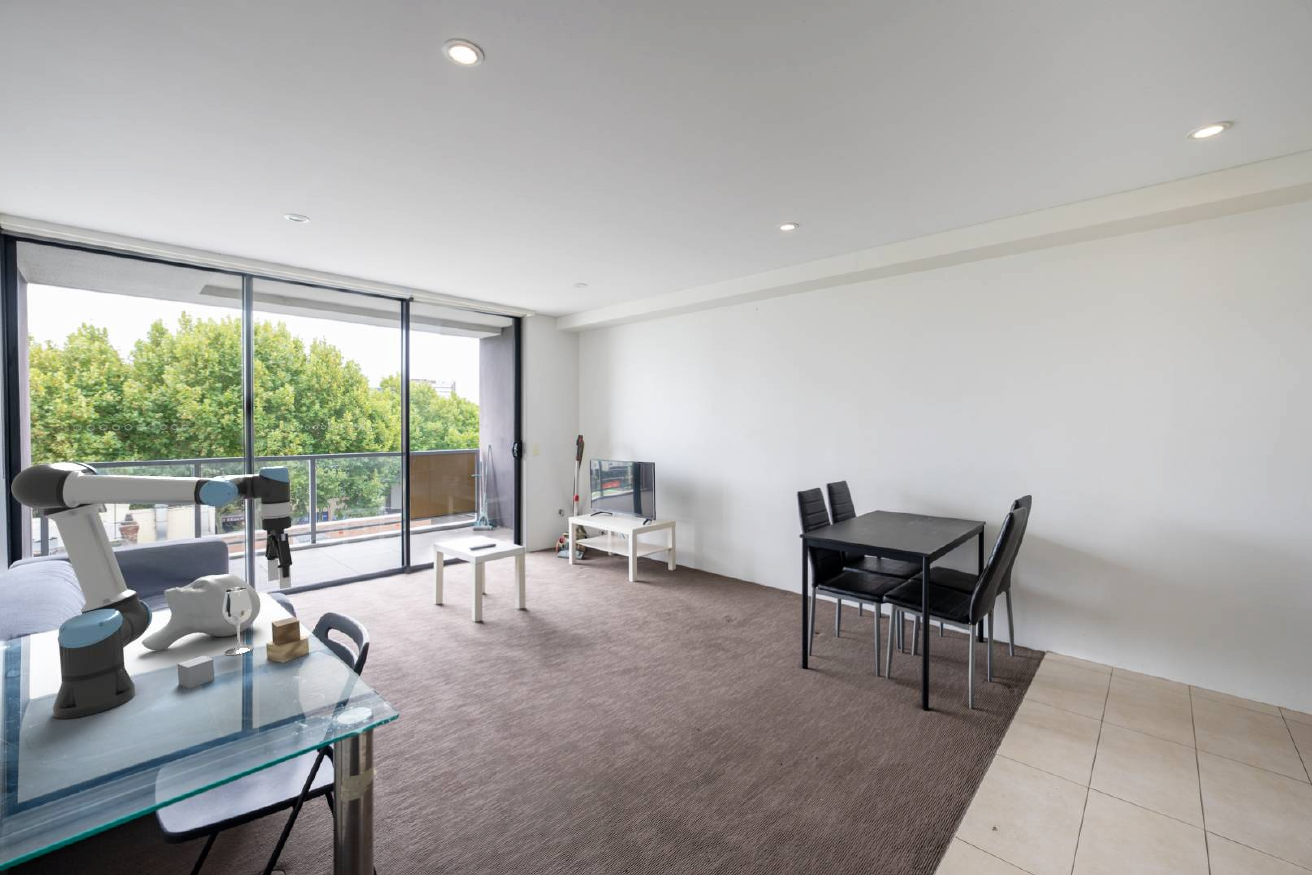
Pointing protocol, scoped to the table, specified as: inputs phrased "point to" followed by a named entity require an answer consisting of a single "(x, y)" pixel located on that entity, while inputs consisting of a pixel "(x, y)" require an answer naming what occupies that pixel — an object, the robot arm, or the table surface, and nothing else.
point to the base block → (287, 650)
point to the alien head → (201, 610)
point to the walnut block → (285, 631)
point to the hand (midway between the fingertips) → (279, 584)
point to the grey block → (195, 671)
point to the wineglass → (237, 614)
